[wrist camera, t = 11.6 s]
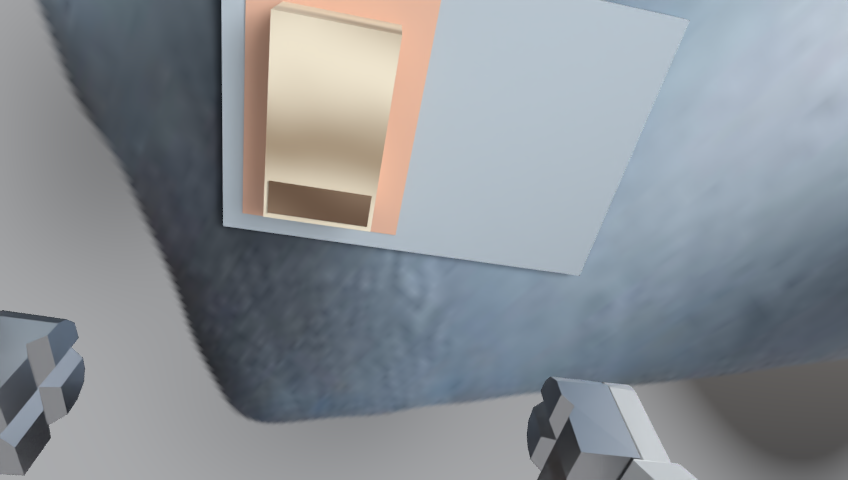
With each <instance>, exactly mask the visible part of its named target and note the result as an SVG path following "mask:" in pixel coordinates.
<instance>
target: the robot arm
mask: <svg viewBox="0 0 848 480" xmlns="http://www.w3.org/2000/svg"><path fill="white" fill-rule="evenodd" d="M77 339H78V334H77V330H76V326H75V323H74V322H72V321H69V320H67V319H60V318H53V317H46V316H39V315H31V314H25V313H17V312H10V311H4V310H2V311H0V474H7V475H25V474H26V472H27V471H28V469H29V468H30V467H31V465H32V464H33V462H34V461H35V460H36V458H37V457H38V455H39V454H40V453H41V451H42V450H43V448H44V447H45V445H46V444H47V443H48V441H49V440H50V438H51V435H50V429H49V424H51V423H53V422H55V421H57V420H58V419H60V418H62V417H63V416H65V415H67V414H68V413H69V411H70V410H71V408H72V407H73V405H74V404H75V402H76V400H77V399H78V396H79V393H80V391H81V388H82V385H83V382H84V372H85V367H84V361H83V357H81V356H80V355H79V354H78V353H77V352H76V351H75V350H74V349H73V348H72V345H73V344H74V343H75V342H76V340H77ZM541 393H542V396H543V400H544V401H543V402H541V403H540V404H538V405H537V406H535V407H533V410H532V413H531V415H530V418H529V422H528V429H527V443H528V450H529V455H530V459H531V460H532V462H533V463H534V464H535V465H536V466H537V467H538V468H539V469H540V470H541V473H540V475H539V477H538V479H537V480H698V479H696V478H695V477H694V476H693V475H692V474H691V473H689V472H688V471H687V470H686V469H685V468H684V467H683V466H681V465H680V464H677V463H671V461H670V459H669V457H668V455H667V453H666V451H665V449H664V448H663V445H662V443H661V441H660V439H659V437H658V435H657V433H656V432H655V429H654V428H653V425H652V423H651V422H650V419H649V417H648V415H647V413H646V412H645V409H644V408H643V405H642V404H641V402H640V400H639V398H638V396H637V394H636V392H635V390H634V389H633V388H632V387H631V386H630V385H625V384H616V383H607V382H602V383H601V382H596V381H587V380H578V379H569V378H560V377H549V378H548V379H547V380H546V381H545V383H544V385H543V387H542V389H541Z"/></svg>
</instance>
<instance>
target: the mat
mask: <svg viewBox="0 0 848 480" xmlns="http://www.w3.org/2000/svg"><path fill="white" fill-rule="evenodd" d="M283 1H285V2H290V3H295V4H300V5H305V6H310V7H315V8H320V9H325V10H330V11H335V12H340V13H345V14H350V15H355V16H360V17H365V18H370V19H375V20H380V21H385V22H390V23H395V24H400V25H402V40H401V46H400V52H399V58H398V65H397V71H396V77H395V83H394V89H393V95H392V102H391V108H390V114H389V120H388V126H387V132H386V139H385V145H384V151H383V157H382V163H381V169H380V176H379V182H378V188H377V194H376V200H375V206H374V213H373V219H372V225H371V231H370V232H368V231H361V230H354V229H346V228H339V227H332V226H325V225H318V224H311V223H304V222H297V221H290V220H283V219H276V218H269V217H263V210H264V183H265V155H266V128H267V100H268V72H269V45H270V17H271V9H272V8H273V7H275V6H276V5H278V4H280V3H281V2H283ZM221 11H222V141H223V226H227V227H234V228H241V229H248V230H255V231H263V232H270V233H277V234H284V235H291V236H298V237H305V238H313V239H320V240H327V241H334V242H341V243H348V244H356V245H363V246H370V247H377V248H384V249H391V250H399V251H406V252H413V253H420V254H427V255H434V256H442V257H449V258H456V259H463V260H470V261H477V262H485V263H492V264H499V265H506V266H513V267H520V268H527V269H535V270H542V271H549V272H556V273H563V274H570V275H578V276H580V274H581V271H582V269H583V267H584V265H585V262H586V260H587V258H588V255H589V253H590V251H591V248H592V246H593V244H594V241H595V239H596V237H597V234H598V232H599V230H600V227H601V225H602V223H603V221H604V218H605V216H606V214H607V211H608V209H609V207H610V204H611V202H612V200H613V197H614V195H615V193H616V190H617V188H618V186H619V183H620V181H621V179H622V177H623V174H624V172H625V170H626V167H627V165H628V163H629V160H630V158H631V156H632V153H633V151H634V149H635V146H636V144H637V142H638V139H639V137H640V135H641V133H642V130H643V128H644V126H645V123H646V121H647V119H648V116H649V114H650V112H651V109H652V107H653V105H654V102H655V100H656V98H657V95H658V93H659V91H660V89H661V86H662V84H663V82H664V79H665V77H666V75H667V72H668V70H669V68H670V65H671V63H672V61H673V58H674V56H675V54H676V52H677V49H678V47H679V45H680V42H681V40H682V38H683V35H684V33H685V31H686V28H687V26H688V24H689V21H690V20H687V19H684V18H679V17H675V16H670V15H666V14H661V13H657V12H652V11H648V10H643V9H639V8H634V7H630V6H626V5H621V4H617V3H612V2H608V1H603V0H221Z"/></svg>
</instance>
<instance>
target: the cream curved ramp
mask: <svg viewBox="0 0 848 480" xmlns="http://www.w3.org/2000/svg"><path fill="white" fill-rule="evenodd" d="M401 40H402V25H400V24H395V23H390V22H385V21H380V20H375V19H370V18H365V17H360V16H355V15H350V14H345V13H340V12H335V11H330V10H325V9H320V8H315V7H310V6H305V5H300V4H295V3H290V2H285V1H283V2H281V3H280V4H278V5H276V6H275V7H273V8H272V9H271V17H270V45H269V72H268V100H267V128H266V155H265V183H264V210H263V217H269V218H276V219H283V220H290V221H297V222H304V223H311V224H318V225H325V226H332V227H339V228H346V229H354V230H361V231H368V232H370V231H371V225H372V219H373V213H374V206H375V200H376V194H377V188H378V182H379V176H380V169H381V163H382V157H383V151H384V145H385V139H386V132H387V126H388V120H389V114H390V108H391V102H392V95H393V89H394V83H395V77H396V71H397V65H398V58H399V52H400V46H401Z"/></svg>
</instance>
